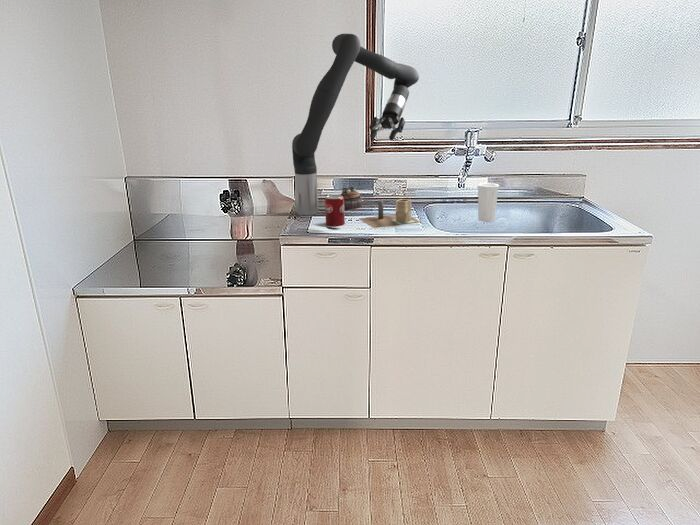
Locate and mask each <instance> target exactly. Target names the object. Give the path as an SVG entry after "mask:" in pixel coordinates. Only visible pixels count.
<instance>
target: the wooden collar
mask: <svg viewBox="0 0 700 525" xmlns="http://www.w3.org/2000/svg"><path fill="white" fill-rule="evenodd" d="M395 214H396V222H404V223H407V222H409V221H411V217H412V199H407V198H399V199H397V200H395Z"/></svg>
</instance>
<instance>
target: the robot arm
mask: <svg viewBox="0 0 700 525" xmlns="http://www.w3.org/2000/svg"><path fill="white" fill-rule="evenodd" d="M331 42H332V43H331V47H332V48H331V50H332V51H333V53H334V54H335V57H334V60H333V62H332V65H331V66H330V68H329V69H328V71H327V72H326V73H325V74H324V75H323V77H322V79H321V80H319V82H318V84H317V86H316V88H315V91H314V93H313V96H312V99H311V100H310V101H311V102H310V105H309V110H308V116H307V119H306V121H305V124H304V126H303V128H302V130H301V132H300V133H297V135H295V136H294V137H293V140H292V143H291V148H292V149H291V150H292V162H293V169H294V182H295V183H294V185H295V190H294V191H293V192H294V205H295V208H294V209H295V213H296V214H297V215H299V216H312V215H316V214H318V213H319V195H318V190H319V189H318V174H317V164H316V159H315V158H316V157H315V156H316V155H315V153H316V151H317V149H318V145H319V142H320V140H321V139H320V138H321V136H322V134H323V133H322V132H323V130H324V127H325V126H326V124H327V121H328V120H329V117H330V115H331V114H332V111H333V109H334V107H335V105H336V103H337V100H338V98H339V96H340V93H341V90H342V89H343V86H344V83H345V81H346V79H347V76H348V74H349V72H350V70H351V68H352V66H353V64H354V63H357V64H360V65H362V66H364V67H366V68H367V69H370V70H371V71H373V72H374V73H377V74H379V75H380V76H383V77H385V78H387V79H388V80H394V82H393V90H392V92H391V94H390V96H389V98H388V99H387V102H386V104H385V106H384V108H383V111H382V115H381V117H380V118H379V117H377V116H374V117H373V119H372V120H371V122H370V125H369V126H368V128H369V129H370V131H371V133H370V135H369V136H370V138H371V140H375V139H376V136H377V135H378V132H380V131H382V130H384V129H385V130H386V129H388V130H390V129H392V130H391V132H390V133H389V136H388V138H389V140H390V141H393V140H394V139H395V137H396V135H397V134H398V133H400V134H401V133H402V132H403V130H404V127H405V123H406V120H405V119H404V117H403V116H402V115H403V112H404V109H405V106H406V103H407V100H408V98H409V95H410V90H409V88H410V87H412V86H414V85H415V84H417V82H418V81H419V79H420V75H419V72H418V71H417V69H416V68H415V67H413V66H410V65H407V64H404V63H397V62H395V61H394V60H392V59H390V58H389V57H386V56H384V55H382V54H379V53H377V52H374V51H372V50H369V49H366V48H364V47H363V46H361V41H360V38H359V37H358V36H357V35H356V34H353V33H340V34H338V35H336V36H335V37H334V38H333V40H332V41H331ZM401 116H402V117H401ZM396 126H397V127H396Z"/></svg>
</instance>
